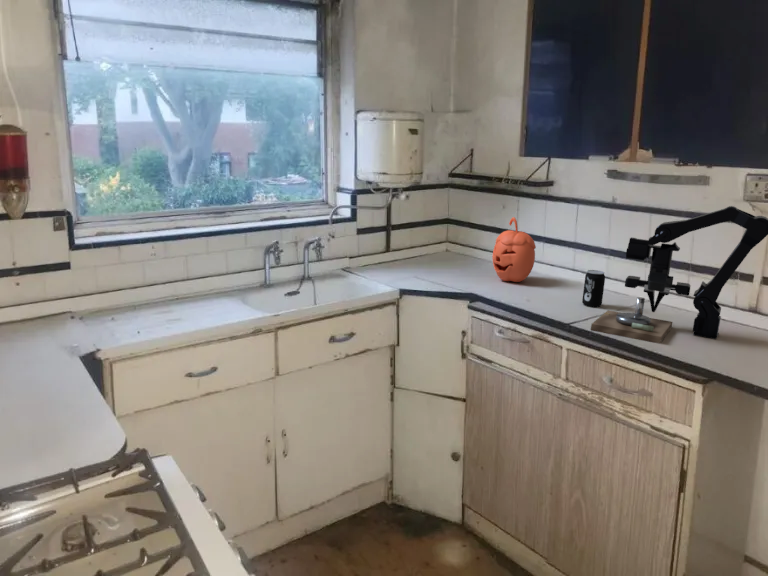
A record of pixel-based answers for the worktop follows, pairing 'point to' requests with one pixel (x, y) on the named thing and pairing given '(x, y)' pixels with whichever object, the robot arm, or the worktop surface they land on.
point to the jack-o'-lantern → (513, 254)
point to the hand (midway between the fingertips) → (653, 311)
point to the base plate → (632, 328)
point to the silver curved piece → (634, 315)
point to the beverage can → (593, 288)
